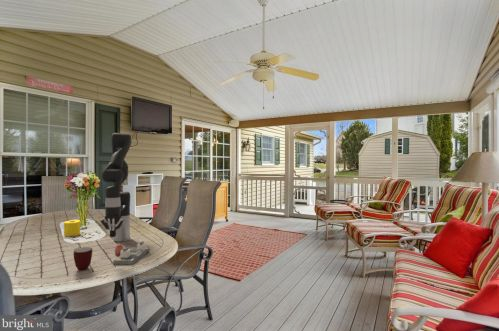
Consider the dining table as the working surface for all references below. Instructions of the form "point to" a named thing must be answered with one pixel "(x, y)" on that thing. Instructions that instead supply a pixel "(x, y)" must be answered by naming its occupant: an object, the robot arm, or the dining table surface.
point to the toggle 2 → (141, 246)
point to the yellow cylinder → (72, 228)
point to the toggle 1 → (124, 253)
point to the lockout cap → (118, 249)
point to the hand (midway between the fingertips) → (112, 237)
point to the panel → (132, 258)
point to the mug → (82, 258)
